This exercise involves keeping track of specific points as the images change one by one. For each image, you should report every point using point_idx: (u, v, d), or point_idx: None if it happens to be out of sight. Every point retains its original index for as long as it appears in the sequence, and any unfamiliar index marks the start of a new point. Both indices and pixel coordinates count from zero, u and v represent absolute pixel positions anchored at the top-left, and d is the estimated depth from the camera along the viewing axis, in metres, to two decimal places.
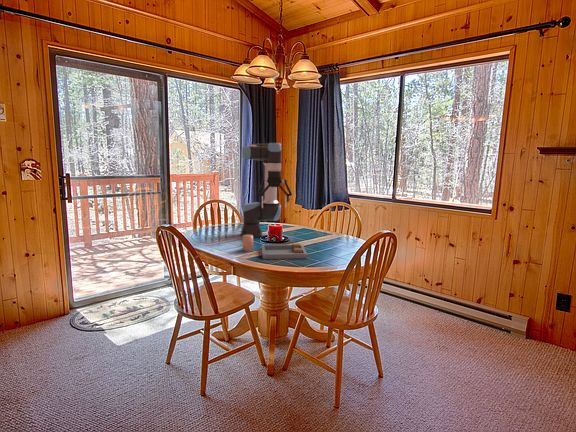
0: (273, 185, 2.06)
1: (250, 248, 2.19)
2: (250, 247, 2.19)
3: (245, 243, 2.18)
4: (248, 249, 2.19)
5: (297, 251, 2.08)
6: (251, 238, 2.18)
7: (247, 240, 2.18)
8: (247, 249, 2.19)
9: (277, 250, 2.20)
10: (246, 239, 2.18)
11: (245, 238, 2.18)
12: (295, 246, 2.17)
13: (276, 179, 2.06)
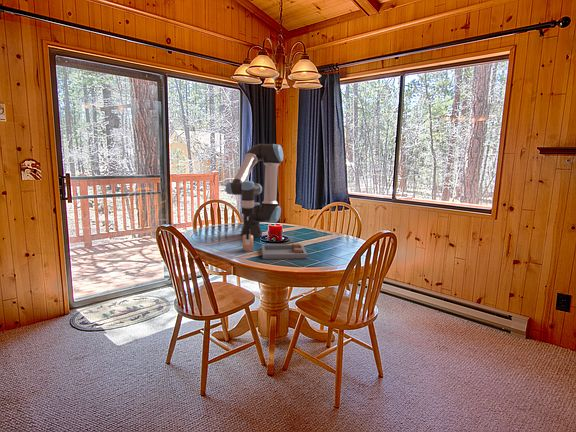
0: None
1: (250, 248, 2.19)
2: (250, 247, 2.19)
3: None
4: (248, 249, 2.19)
5: (297, 251, 2.08)
6: (251, 238, 2.18)
7: None
8: (247, 249, 2.19)
9: (277, 250, 2.20)
10: None
11: None
12: (295, 246, 2.17)
13: None
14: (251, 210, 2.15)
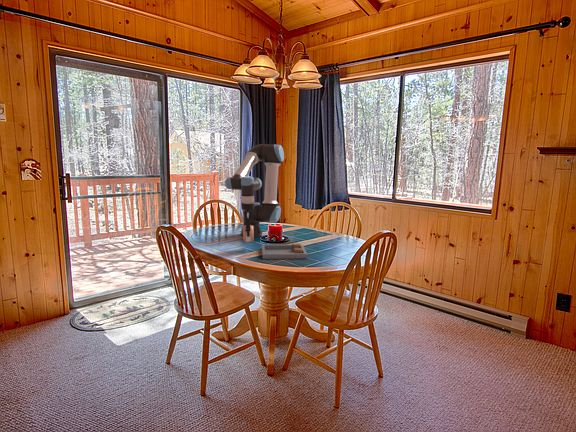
0: None
1: None
2: None
3: (245, 234, 2.18)
4: None
5: (297, 251, 2.08)
6: (251, 229, 2.18)
7: None
8: None
9: (277, 250, 2.20)
10: None
11: (245, 229, 2.17)
12: (295, 246, 2.17)
13: (246, 210, 2.16)
14: (251, 206, 2.14)
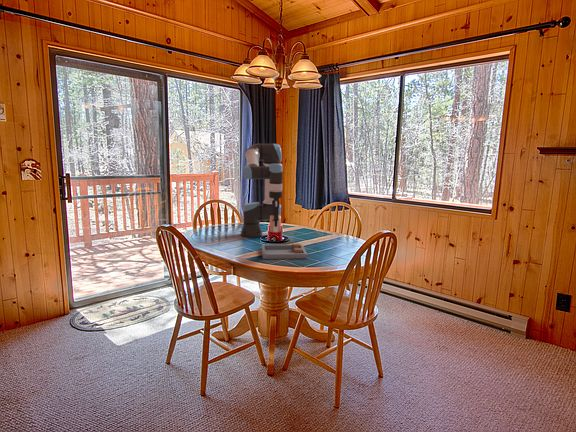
0: (273, 205, 2.09)
1: (278, 229, 2.08)
2: (278, 228, 2.08)
3: None
4: None
5: (297, 251, 2.08)
6: (279, 219, 2.08)
7: None
8: None
9: (277, 250, 2.20)
10: None
11: (273, 218, 2.07)
12: (295, 246, 2.17)
13: (273, 198, 2.06)
14: (279, 194, 2.05)
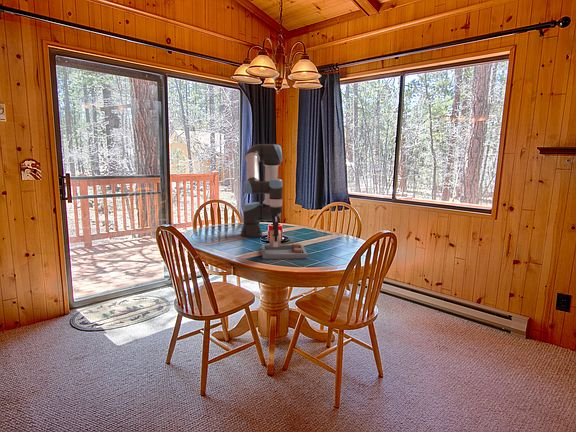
0: (273, 220, 2.11)
1: (278, 244, 2.10)
2: (278, 242, 2.10)
3: None
4: None
5: (297, 251, 2.08)
6: (279, 234, 2.09)
7: None
8: None
9: (277, 250, 2.20)
10: None
11: (273, 233, 2.08)
12: (295, 246, 2.17)
13: (273, 213, 2.08)
14: (279, 209, 2.06)
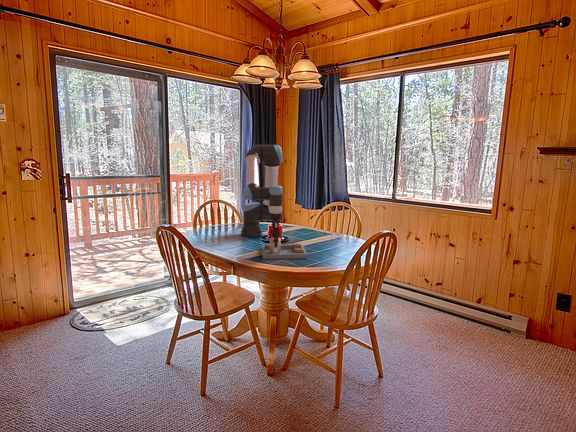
0: (273, 226, 2.11)
1: (278, 251, 2.11)
2: (278, 250, 2.11)
3: (272, 246, 2.10)
4: None
5: (297, 251, 2.08)
6: (278, 241, 2.10)
7: None
8: (274, 253, 2.10)
9: None
10: None
11: None
12: (295, 246, 2.17)
13: None
14: (279, 216, 2.07)
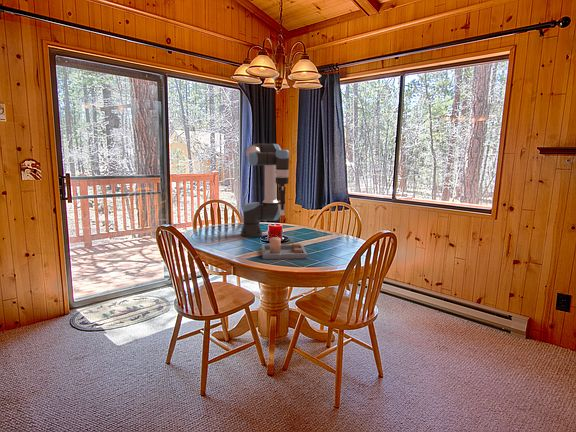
0: None
1: (278, 251, 2.11)
2: (278, 250, 2.11)
3: (272, 246, 2.10)
4: (275, 252, 2.10)
5: (297, 251, 2.08)
6: (278, 241, 2.10)
7: (275, 243, 2.09)
8: (274, 253, 2.10)
9: None
10: (274, 242, 2.09)
11: (272, 241, 2.09)
12: (295, 246, 2.17)
13: None
14: (286, 180, 2.07)
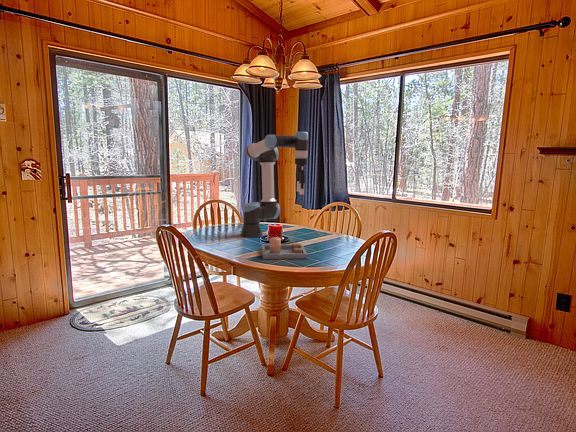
0: (298, 171, 2.21)
1: (278, 251, 2.11)
2: (278, 250, 2.11)
3: (272, 246, 2.10)
4: (275, 252, 2.10)
5: (297, 251, 2.08)
6: (278, 241, 2.10)
7: (275, 243, 2.09)
8: (274, 253, 2.10)
9: None
10: (274, 242, 2.09)
11: (272, 241, 2.09)
12: (295, 246, 2.17)
13: (299, 166, 2.19)
14: (305, 160, 2.16)
